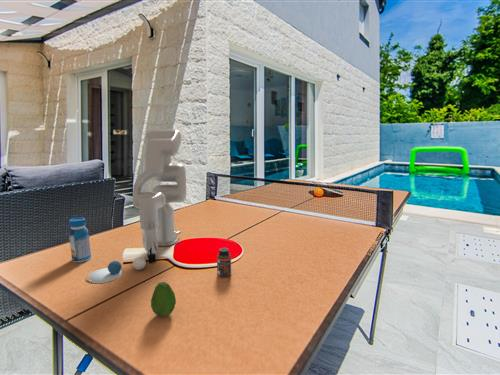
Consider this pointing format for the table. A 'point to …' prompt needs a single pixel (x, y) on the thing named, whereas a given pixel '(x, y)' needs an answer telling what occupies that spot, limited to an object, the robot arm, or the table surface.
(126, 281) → the table surface
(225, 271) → the supplement bottle
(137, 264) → the cue ball
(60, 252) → the table surface
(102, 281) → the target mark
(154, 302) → the avocado
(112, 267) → the object ball
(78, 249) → the blue medicine bottle
